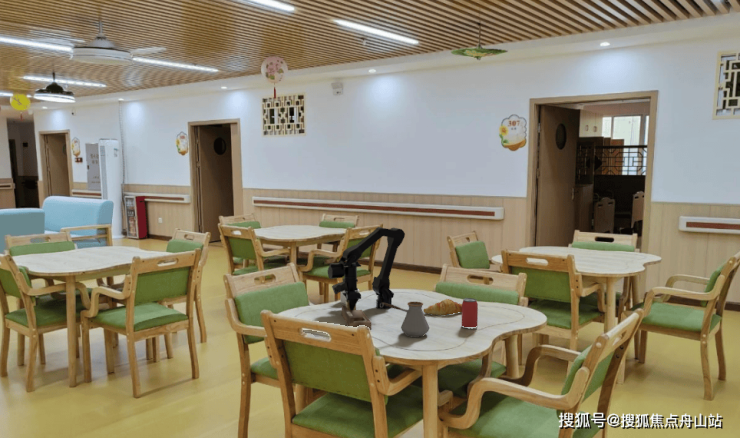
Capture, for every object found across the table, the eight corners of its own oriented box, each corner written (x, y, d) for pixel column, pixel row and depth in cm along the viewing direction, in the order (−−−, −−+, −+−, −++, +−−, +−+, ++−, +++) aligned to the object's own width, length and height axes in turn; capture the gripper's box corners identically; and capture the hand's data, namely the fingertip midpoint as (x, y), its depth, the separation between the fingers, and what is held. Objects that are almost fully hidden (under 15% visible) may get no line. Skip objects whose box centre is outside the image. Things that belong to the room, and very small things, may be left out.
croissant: (425, 323, 254) (428, 310, 250) (419, 308, 262) (421, 295, 258) (469, 319, 259) (472, 306, 255) (461, 304, 267) (464, 292, 263)
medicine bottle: (359, 302, 278) (359, 279, 276) (353, 306, 271) (353, 282, 270) (346, 301, 281) (346, 277, 279) (340, 304, 274) (340, 280, 273)
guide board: (361, 316, 254) (361, 303, 253) (371, 329, 234) (371, 315, 234) (341, 317, 252) (341, 305, 251) (350, 330, 233) (350, 317, 232)
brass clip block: (354, 310, 260) (354, 299, 260) (355, 312, 256) (355, 301, 256) (345, 310, 259) (345, 300, 259) (347, 313, 255) (347, 302, 255)
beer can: (467, 330, 232) (468, 302, 231) (458, 326, 238) (458, 298, 237) (480, 328, 235) (481, 300, 234) (470, 324, 241) (471, 297, 240)
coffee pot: (420, 328, 235) (420, 293, 233) (434, 336, 225) (435, 299, 223) (374, 335, 226) (374, 299, 224) (387, 344, 216) (387, 305, 214)
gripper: (330, 273, 263) (330, 306, 265) (336, 281, 245) (336, 316, 247) (353, 272, 266) (353, 304, 267) (361, 280, 248) (361, 315, 249)
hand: (350, 310), depth 258 cm, fingers closed on brass clip block, 4 cm apart
